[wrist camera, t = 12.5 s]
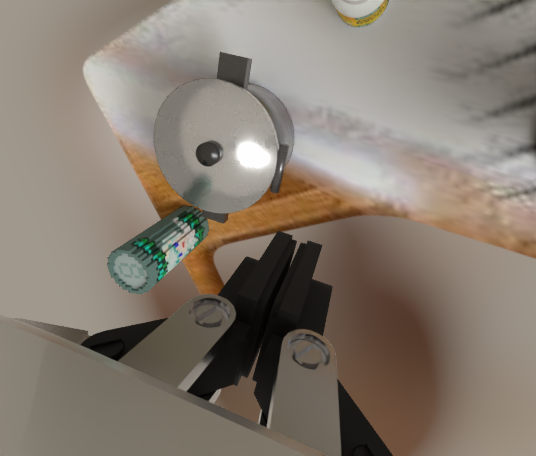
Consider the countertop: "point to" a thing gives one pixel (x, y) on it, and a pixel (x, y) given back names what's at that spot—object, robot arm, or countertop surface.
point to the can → (157, 250)
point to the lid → (218, 146)
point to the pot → (238, 74)
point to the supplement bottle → (360, 11)
